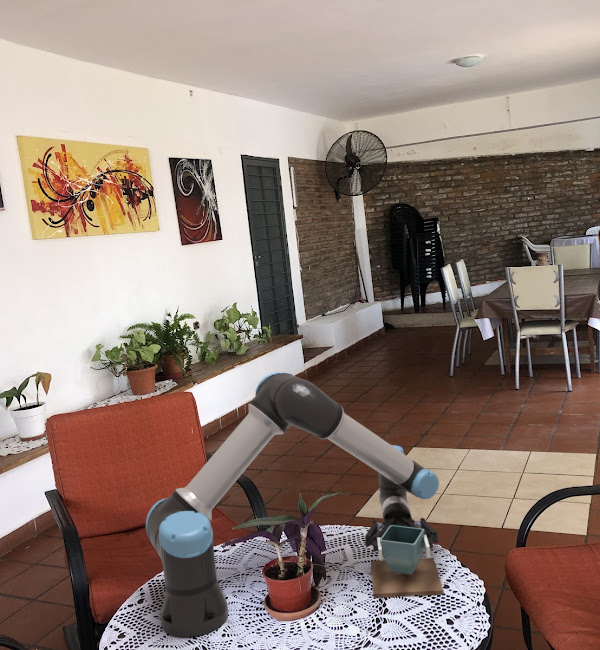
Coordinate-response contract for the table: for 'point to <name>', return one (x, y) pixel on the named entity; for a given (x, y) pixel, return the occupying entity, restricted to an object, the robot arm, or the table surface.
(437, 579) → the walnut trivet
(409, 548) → the flower pot
